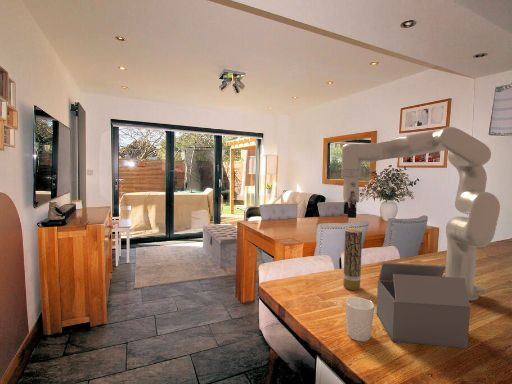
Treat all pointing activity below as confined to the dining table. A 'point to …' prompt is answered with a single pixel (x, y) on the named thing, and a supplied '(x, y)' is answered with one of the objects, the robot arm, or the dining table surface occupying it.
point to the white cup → (359, 318)
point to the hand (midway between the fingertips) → (349, 215)
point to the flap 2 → (431, 290)
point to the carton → (421, 320)
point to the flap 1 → (409, 270)
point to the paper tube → (352, 258)
